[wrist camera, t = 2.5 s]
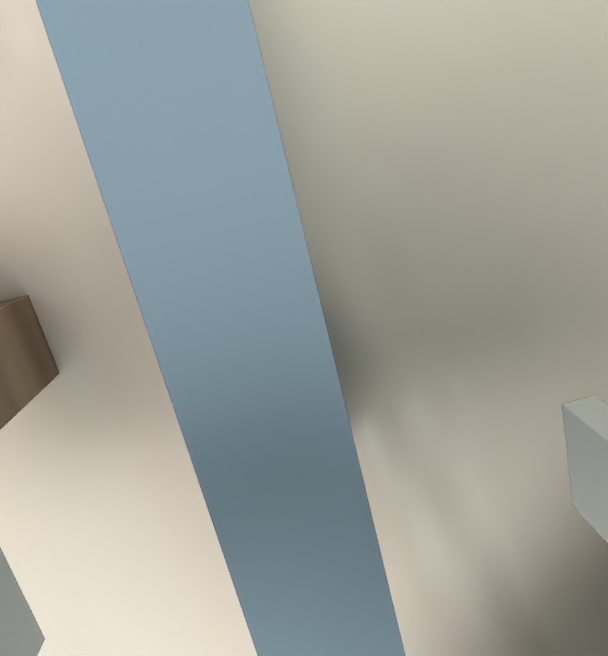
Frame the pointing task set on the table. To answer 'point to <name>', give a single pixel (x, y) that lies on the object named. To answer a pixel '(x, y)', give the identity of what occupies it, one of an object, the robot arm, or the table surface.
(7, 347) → the slotted beam
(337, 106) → the table surface
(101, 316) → the table surface
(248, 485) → the long blue bar
